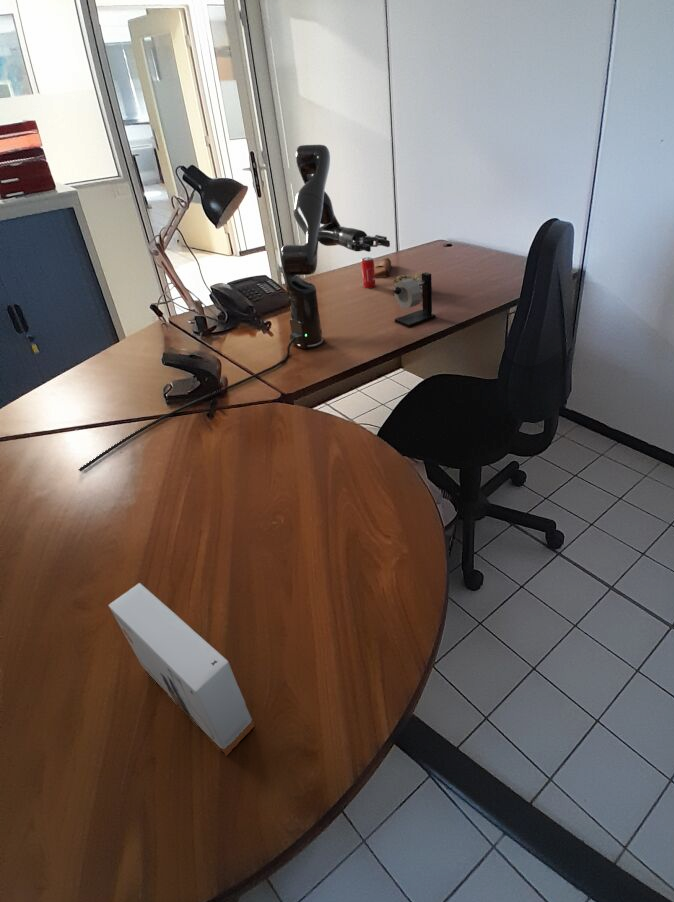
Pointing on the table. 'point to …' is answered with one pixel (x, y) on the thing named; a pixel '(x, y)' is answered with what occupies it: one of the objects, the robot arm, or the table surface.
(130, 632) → the skincare box
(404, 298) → the tape roll
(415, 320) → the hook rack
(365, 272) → the beverage can
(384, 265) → the sunglasses case
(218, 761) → the table surface
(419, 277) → the mineral formation
